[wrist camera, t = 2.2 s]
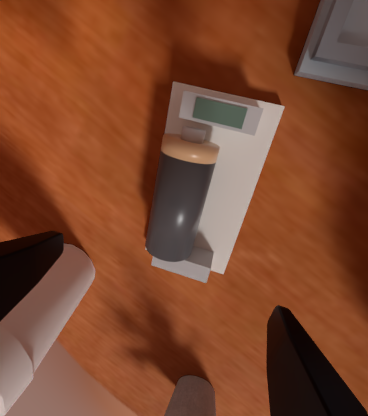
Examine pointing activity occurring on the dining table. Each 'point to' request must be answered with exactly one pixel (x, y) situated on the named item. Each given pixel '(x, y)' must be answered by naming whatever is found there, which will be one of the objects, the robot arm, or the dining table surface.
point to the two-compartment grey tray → (337, 44)
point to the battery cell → (180, 193)
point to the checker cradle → (222, 168)
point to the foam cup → (40, 321)
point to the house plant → (192, 398)
